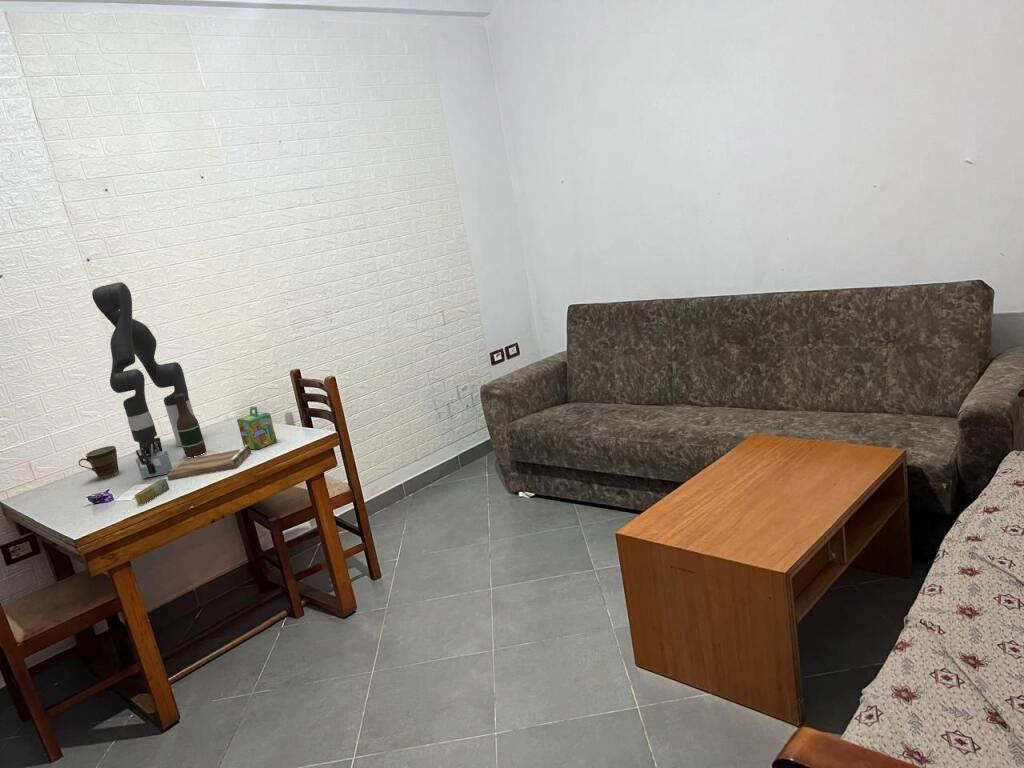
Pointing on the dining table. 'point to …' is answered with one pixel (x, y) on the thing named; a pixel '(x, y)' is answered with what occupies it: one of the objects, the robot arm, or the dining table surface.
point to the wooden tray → (210, 463)
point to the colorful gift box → (257, 429)
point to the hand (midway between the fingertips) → (156, 470)
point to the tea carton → (156, 464)
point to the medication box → (152, 491)
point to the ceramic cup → (103, 461)
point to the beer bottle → (189, 429)
